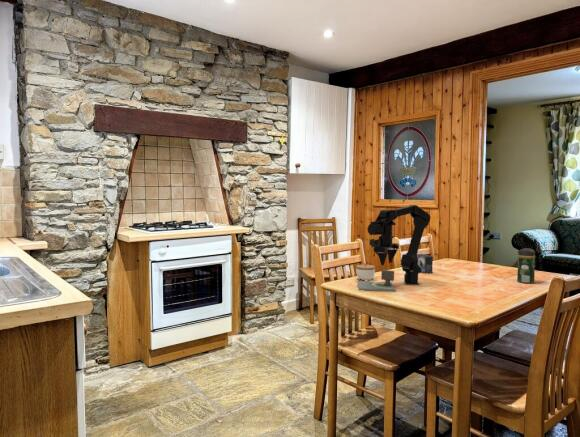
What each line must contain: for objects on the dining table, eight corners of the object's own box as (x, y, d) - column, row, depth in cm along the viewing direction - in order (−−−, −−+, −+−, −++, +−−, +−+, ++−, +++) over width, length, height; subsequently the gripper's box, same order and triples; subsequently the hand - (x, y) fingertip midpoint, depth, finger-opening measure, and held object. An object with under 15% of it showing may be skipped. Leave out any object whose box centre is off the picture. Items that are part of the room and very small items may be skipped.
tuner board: (391, 283, 223) (391, 281, 223) (396, 291, 205) (396, 289, 205) (357, 282, 225) (357, 280, 225) (359, 290, 207) (359, 288, 207)
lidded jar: (353, 280, 231) (353, 263, 230) (359, 277, 240) (359, 261, 240) (371, 282, 226) (372, 265, 225) (377, 279, 235) (377, 262, 235)
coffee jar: (519, 279, 234) (520, 246, 233) (535, 281, 229) (536, 248, 228) (515, 282, 227) (516, 248, 226) (531, 284, 222) (532, 249, 220)
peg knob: (394, 284, 214) (394, 270, 213) (391, 286, 211) (391, 271, 210) (371, 281, 222) (371, 268, 221) (367, 283, 218) (368, 269, 218)
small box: (412, 271, 260) (412, 254, 260) (420, 270, 263) (421, 253, 262) (424, 273, 251) (425, 256, 250) (432, 273, 254) (433, 256, 253)
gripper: (379, 231, 226) (379, 260, 227) (364, 234, 211) (363, 265, 212) (399, 232, 219) (399, 262, 220) (384, 236, 204) (384, 267, 205)
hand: (386, 264), depth 214 cm, fingers open, 9 cm apart
